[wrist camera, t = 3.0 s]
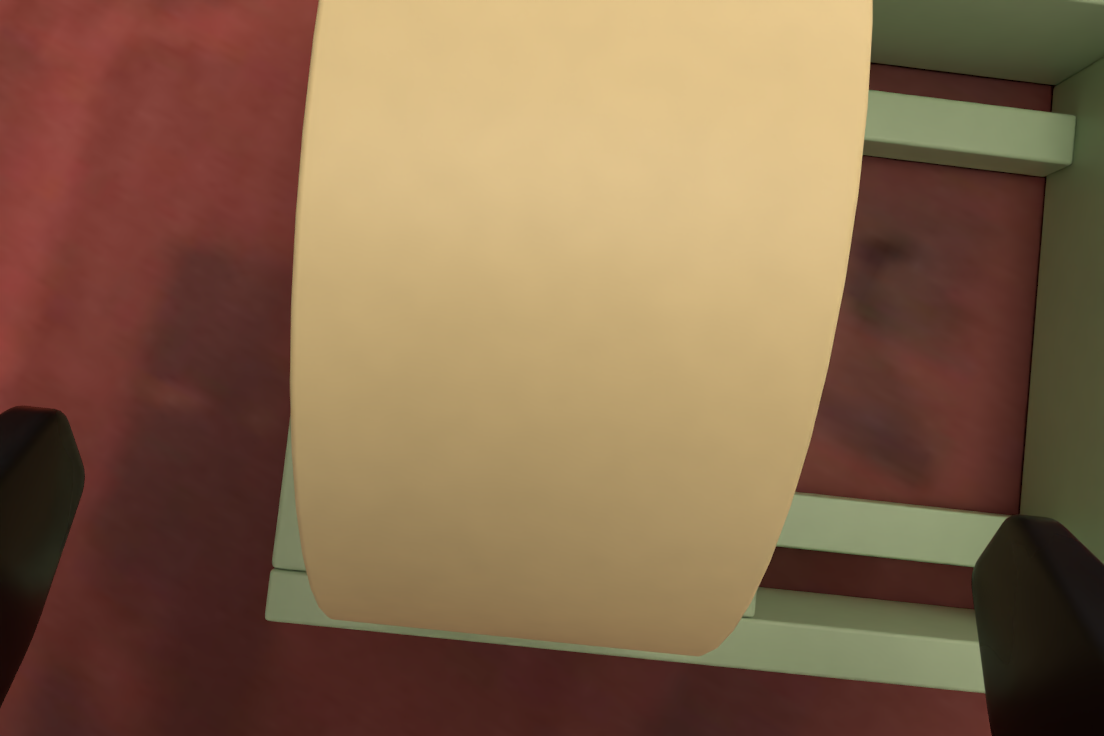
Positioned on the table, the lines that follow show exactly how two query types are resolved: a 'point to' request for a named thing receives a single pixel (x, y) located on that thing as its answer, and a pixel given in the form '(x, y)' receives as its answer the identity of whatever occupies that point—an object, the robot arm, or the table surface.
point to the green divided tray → (1056, 373)
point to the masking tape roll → (566, 306)
